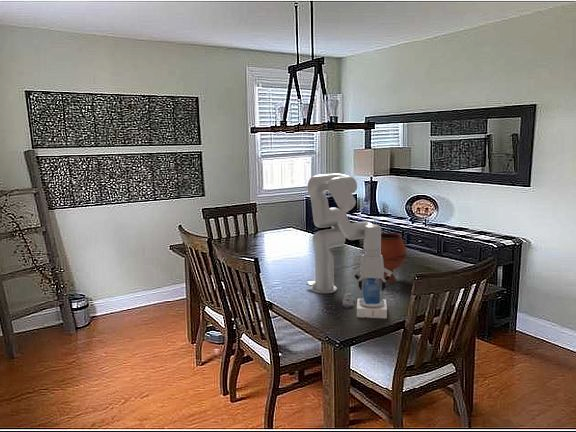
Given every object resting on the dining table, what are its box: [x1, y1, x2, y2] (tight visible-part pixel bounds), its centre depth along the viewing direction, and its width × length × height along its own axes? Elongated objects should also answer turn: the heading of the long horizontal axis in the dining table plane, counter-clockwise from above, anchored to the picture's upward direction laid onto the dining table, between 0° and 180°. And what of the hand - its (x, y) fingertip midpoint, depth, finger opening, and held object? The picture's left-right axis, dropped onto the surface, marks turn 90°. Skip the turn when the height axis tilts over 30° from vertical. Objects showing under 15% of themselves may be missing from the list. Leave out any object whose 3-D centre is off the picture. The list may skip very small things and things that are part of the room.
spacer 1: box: [342, 292, 355, 302], centre depth 228 cm, size 5×5×3 cm
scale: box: [356, 297, 388, 319], centre depth 212 cm, size 13×14×4 cm
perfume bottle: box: [362, 278, 381, 304], centre depth 211 cm, size 6×6×12 cm
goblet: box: [379, 232, 407, 282], centre depth 258 cm, size 19×19×25 cm
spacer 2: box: [342, 298, 354, 308], centre depth 221 cm, size 5×5×3 cm
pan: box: [359, 297, 384, 307], centre depth 212 cm, size 11×11×1 cm
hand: (371, 289), depth 211 cm, fingers open, 9 cm apart
